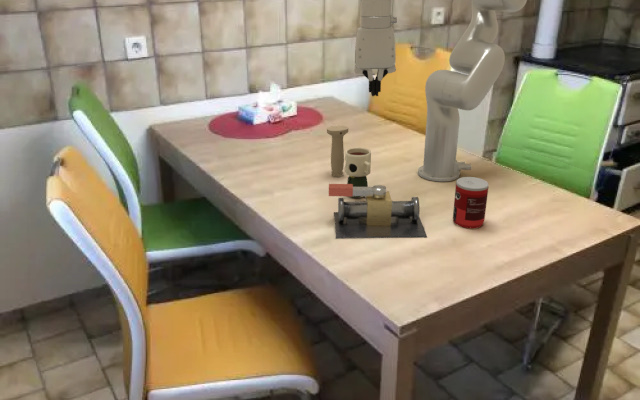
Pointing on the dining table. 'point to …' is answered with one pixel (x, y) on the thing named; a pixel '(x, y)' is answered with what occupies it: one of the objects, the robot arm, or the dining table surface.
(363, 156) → the character mug
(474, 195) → the canned food
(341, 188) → the lever
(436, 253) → the dining table surface
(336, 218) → the valve
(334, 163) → the handle
